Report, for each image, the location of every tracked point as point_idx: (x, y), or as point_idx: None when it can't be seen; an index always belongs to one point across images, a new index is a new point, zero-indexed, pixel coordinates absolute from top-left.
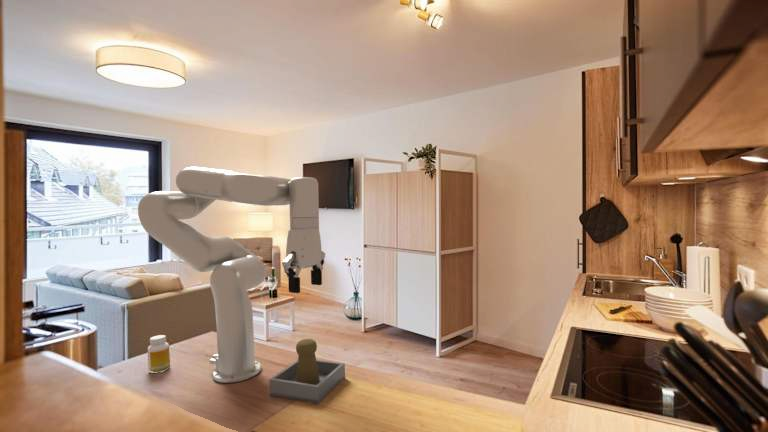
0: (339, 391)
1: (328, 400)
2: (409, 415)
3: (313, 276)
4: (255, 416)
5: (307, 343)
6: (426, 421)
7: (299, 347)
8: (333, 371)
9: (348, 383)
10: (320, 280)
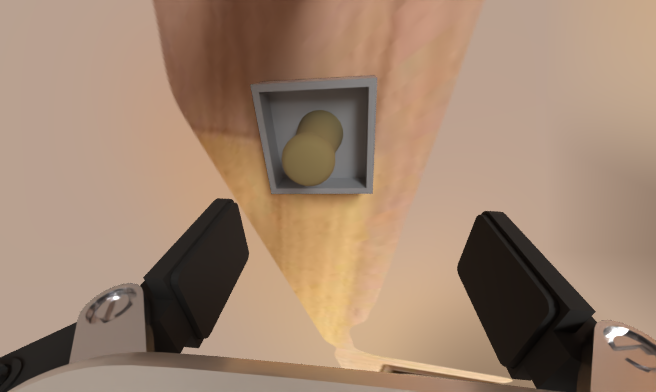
0: None
1: None
2: (305, 280)
3: (504, 276)
4: (203, 107)
5: (294, 177)
6: (302, 294)
7: (282, 158)
8: (332, 190)
9: None
10: (473, 294)
